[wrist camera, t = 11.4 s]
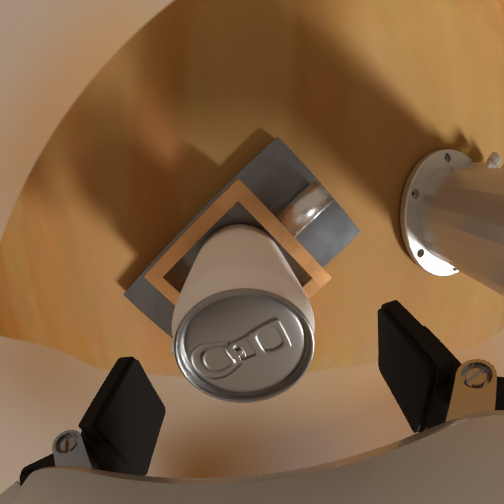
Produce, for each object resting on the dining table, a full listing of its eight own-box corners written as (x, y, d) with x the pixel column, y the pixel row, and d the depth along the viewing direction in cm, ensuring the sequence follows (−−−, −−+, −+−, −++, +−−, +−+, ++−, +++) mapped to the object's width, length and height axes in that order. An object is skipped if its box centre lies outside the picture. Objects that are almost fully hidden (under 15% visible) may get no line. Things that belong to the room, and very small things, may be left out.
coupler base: (275, 138, 21) (284, 130, 17) (355, 228, 23) (376, 240, 19) (128, 289, 24) (110, 309, 20) (208, 358, 26) (204, 386, 22)
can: (183, 246, 22) (131, 320, 10) (259, 208, 21) (287, 246, 10) (222, 314, 23) (214, 424, 12) (293, 280, 23) (343, 374, 11)
